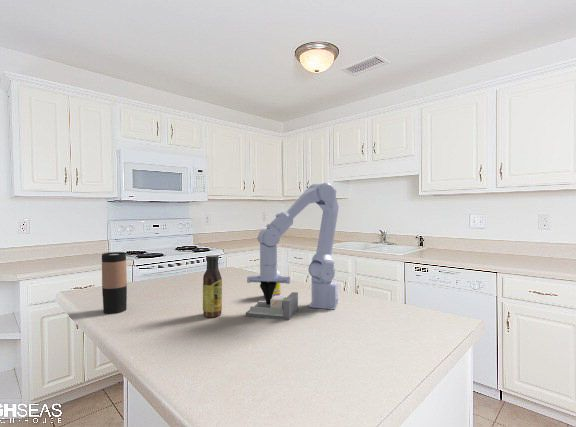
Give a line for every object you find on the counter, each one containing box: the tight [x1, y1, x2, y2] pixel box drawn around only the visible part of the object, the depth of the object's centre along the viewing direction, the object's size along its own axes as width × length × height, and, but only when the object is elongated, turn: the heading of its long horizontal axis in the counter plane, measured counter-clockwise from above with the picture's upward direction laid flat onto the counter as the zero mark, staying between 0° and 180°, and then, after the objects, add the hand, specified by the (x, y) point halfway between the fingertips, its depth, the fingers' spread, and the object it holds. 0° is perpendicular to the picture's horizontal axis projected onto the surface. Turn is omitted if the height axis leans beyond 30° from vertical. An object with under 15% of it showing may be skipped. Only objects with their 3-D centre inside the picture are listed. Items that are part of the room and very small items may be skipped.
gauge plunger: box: [270, 295, 287, 309], centre depth 114 cm, size 4×8×4 cm, turn 164°
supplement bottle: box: [263, 264, 281, 298], centre depth 135 cm, size 7×7×13 cm
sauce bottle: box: [202, 254, 223, 318], centre depth 114 cm, size 6×6×20 cm
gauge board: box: [245, 291, 299, 321], centre depth 116 cm, size 15×11×6 cm
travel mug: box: [101, 251, 128, 315], centre depth 119 cm, size 8×8×20 cm
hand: (268, 303), depth 116 cm, fingers closed
